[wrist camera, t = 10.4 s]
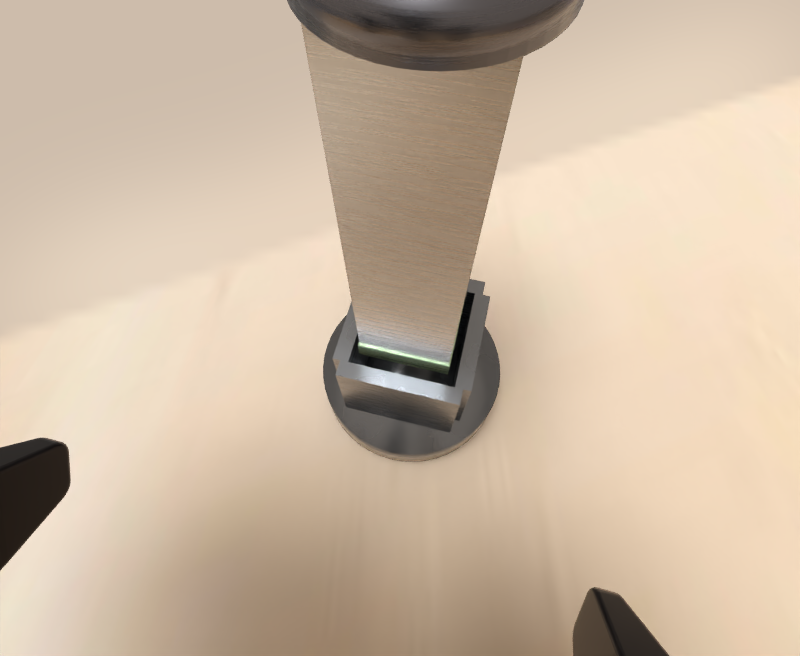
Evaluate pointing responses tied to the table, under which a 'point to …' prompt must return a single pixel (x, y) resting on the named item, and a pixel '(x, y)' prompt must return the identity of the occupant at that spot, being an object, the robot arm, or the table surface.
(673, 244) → the table surface
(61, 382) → the table surface
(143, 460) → the table surface
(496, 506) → the table surface
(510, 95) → the column
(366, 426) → the stand
